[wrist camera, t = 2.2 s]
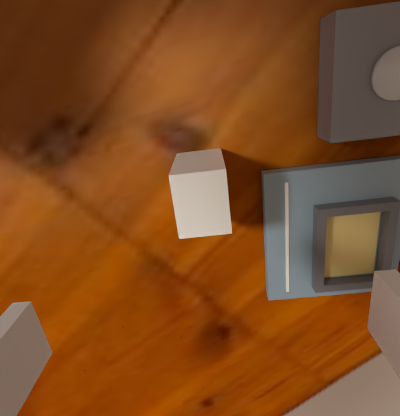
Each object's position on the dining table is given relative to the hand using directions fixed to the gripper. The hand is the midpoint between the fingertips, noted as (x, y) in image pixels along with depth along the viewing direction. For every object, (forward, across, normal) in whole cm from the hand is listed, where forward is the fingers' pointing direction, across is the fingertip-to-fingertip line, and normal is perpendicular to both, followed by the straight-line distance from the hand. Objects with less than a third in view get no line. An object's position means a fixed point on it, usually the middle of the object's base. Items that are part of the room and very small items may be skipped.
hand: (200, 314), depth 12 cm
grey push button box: (+18, +15, +7) cm, 24 cm away
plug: (+18, 0, 0) cm, 18 cm away
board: (+18, +12, -7) cm, 22 cm away
